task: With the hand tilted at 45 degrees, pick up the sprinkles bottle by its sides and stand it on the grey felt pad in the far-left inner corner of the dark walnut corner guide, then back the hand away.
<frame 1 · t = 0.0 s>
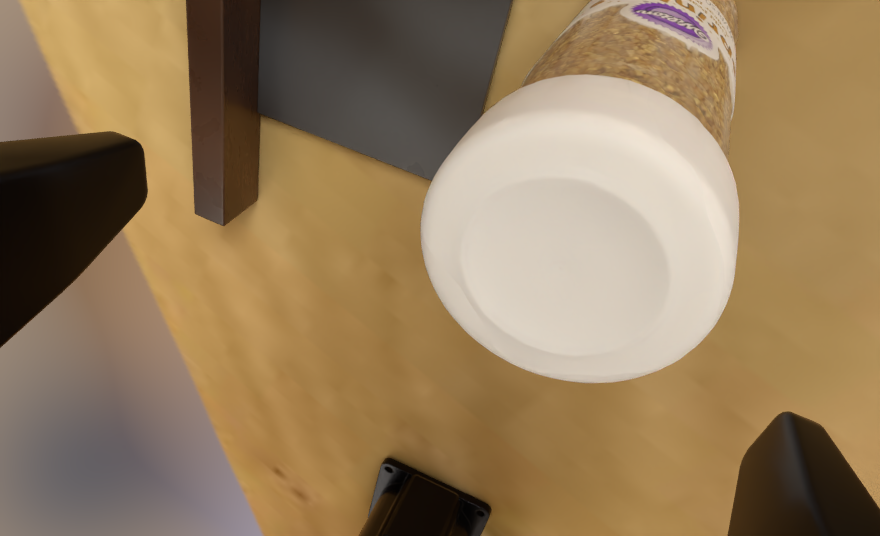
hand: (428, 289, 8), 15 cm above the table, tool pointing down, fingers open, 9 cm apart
sprinkles bottle: (655, 33, 19), on the table
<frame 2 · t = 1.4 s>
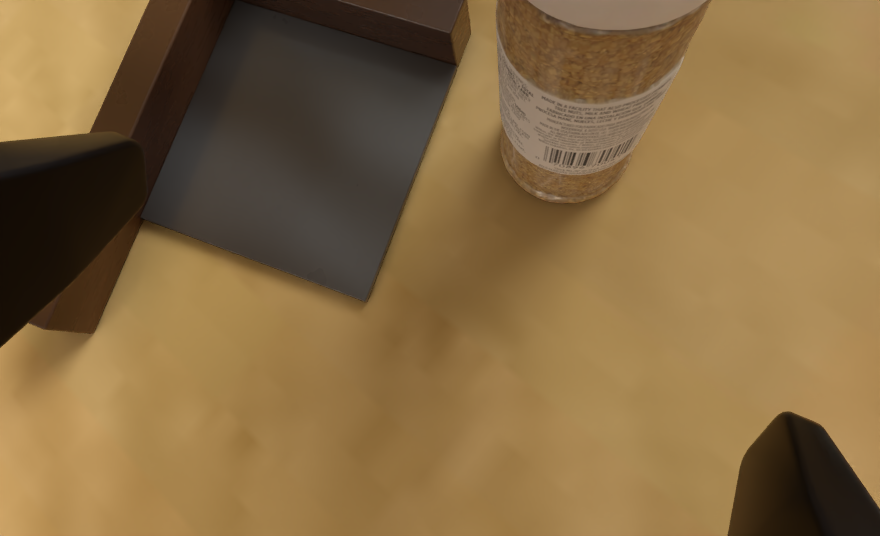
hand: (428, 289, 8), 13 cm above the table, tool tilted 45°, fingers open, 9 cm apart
corner guide: (238, 3, 25), on the table
sprinkles bottle: (563, 146, 22), on the table
when the fingers open (7 cm above the table, at t = 9.8 s): sprinkles bottle stays where it is, resting on corner guide.
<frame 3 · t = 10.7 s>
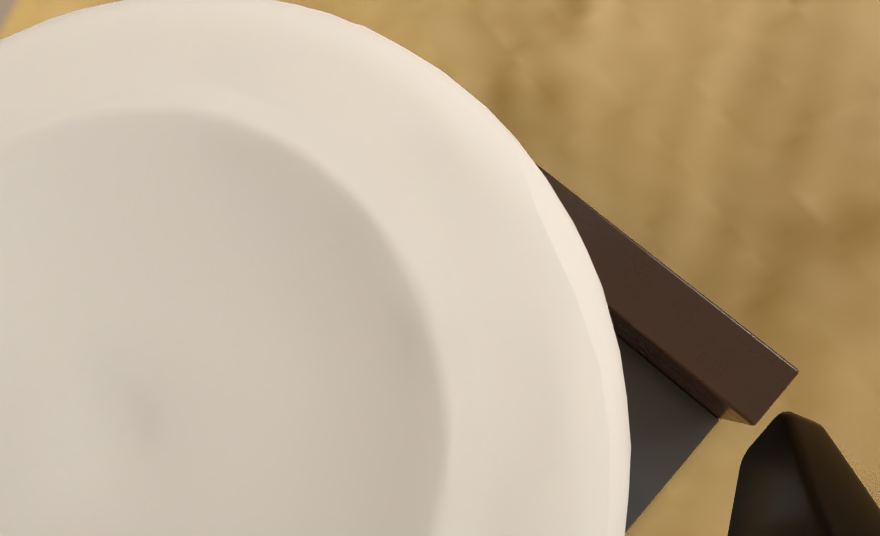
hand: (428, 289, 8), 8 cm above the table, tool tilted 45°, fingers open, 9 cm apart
corner guide: (437, 188, 17), on the table
sprinkles bottle: (443, 383, 16), resting on corner guide
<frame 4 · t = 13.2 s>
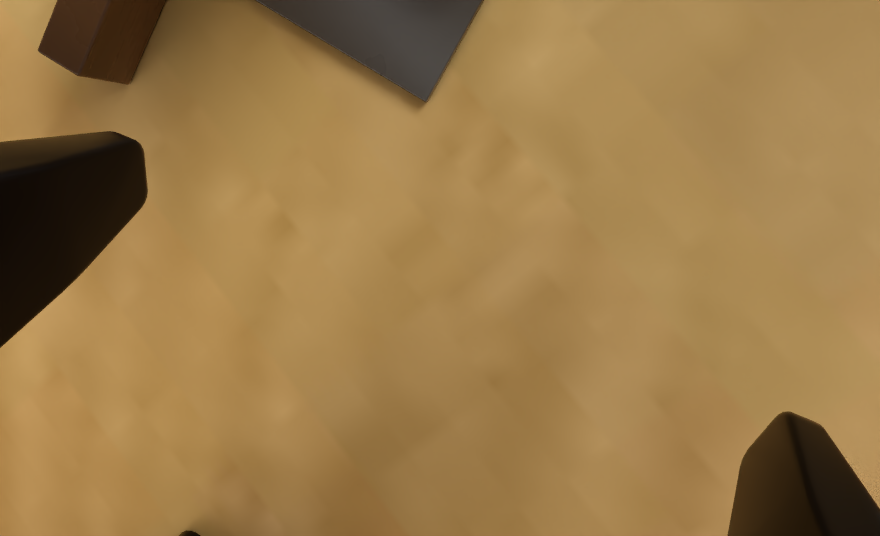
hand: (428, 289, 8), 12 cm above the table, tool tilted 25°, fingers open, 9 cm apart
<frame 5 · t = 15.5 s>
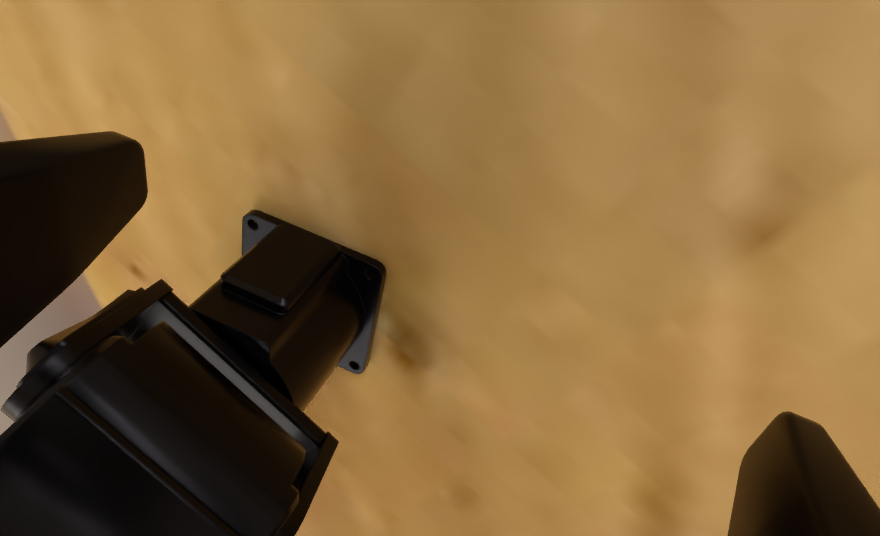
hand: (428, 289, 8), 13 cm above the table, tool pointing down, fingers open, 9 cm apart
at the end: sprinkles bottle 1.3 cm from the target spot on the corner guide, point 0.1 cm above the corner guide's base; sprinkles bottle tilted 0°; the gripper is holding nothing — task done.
